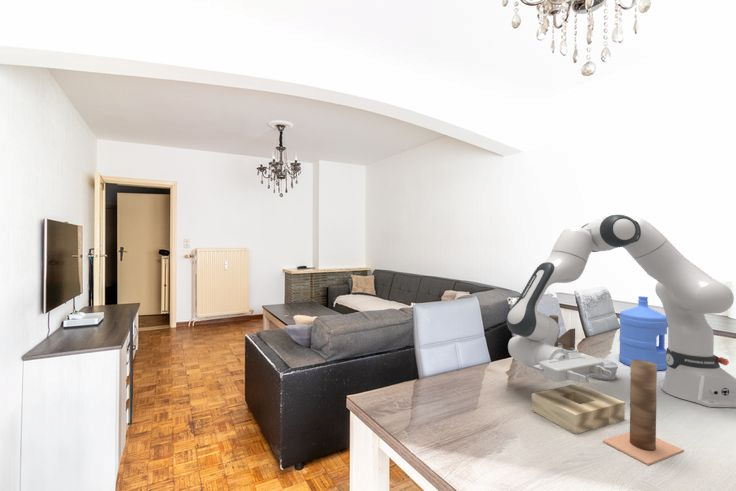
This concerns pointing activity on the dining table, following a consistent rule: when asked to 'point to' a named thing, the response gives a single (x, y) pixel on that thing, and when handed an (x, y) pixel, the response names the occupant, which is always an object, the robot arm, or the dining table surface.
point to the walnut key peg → (643, 404)
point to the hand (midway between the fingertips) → (598, 377)
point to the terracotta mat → (641, 455)
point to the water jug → (643, 335)
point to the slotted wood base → (578, 407)
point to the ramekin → (607, 366)
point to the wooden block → (565, 336)
